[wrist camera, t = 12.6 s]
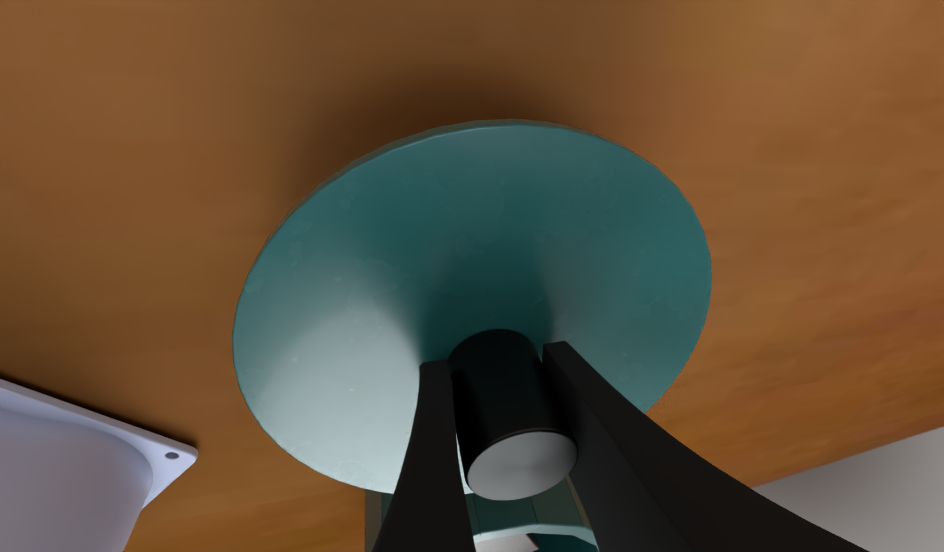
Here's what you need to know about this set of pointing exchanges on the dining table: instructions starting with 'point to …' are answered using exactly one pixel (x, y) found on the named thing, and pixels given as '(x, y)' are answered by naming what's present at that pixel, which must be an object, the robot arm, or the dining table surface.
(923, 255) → the dining table surface
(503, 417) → the lid
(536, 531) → the tin
